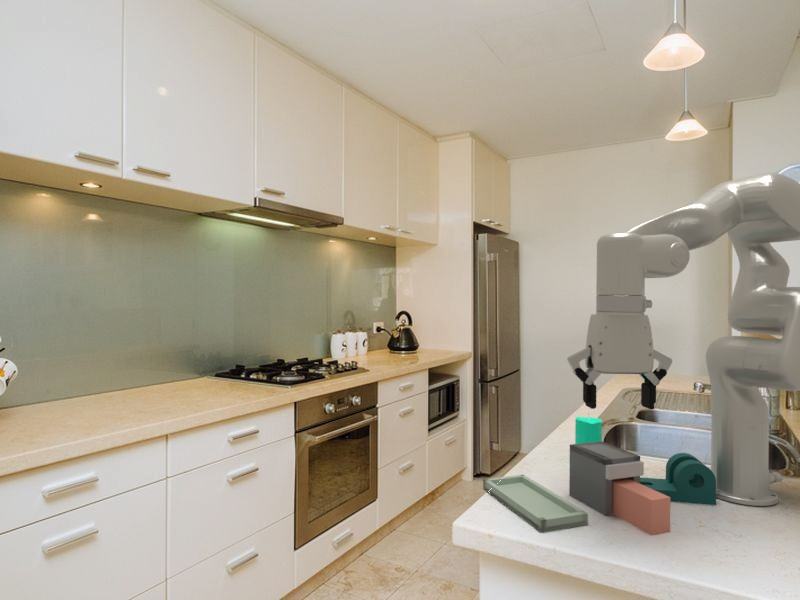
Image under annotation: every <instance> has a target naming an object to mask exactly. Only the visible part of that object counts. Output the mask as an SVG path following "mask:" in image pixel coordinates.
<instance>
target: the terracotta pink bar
mask: <svg viewBox="0 0 800 600" xmlns="http://www.w3.org/2000/svg"><path fill="white" fill-rule="evenodd" d="M612 515H614V516H615V517H617V518H619V519H621V520H623V521H625V522H626V523H628V524H630V525H632V526H634V527H636V528H637V529H639V530H640V531H643V533H646V534H648V535H649V536H657V535H658V536H659V535H663V534H667V533H671V502H670V497H669V496H666V495H664V494H662V493H660V492H657V491H655V490H653V489H651V488H648V487H646V486H644V485H642V484H639V483H637V482H635V481H633V480H630V479H629V478H620V479H612Z"/></svg>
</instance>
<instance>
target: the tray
mask: <svg viewBox="0 0 800 600" xmlns="http://www.w3.org/2000/svg"><path fill="white" fill-rule="evenodd" d="M502 478H503V479H502ZM482 480H483V481H482V484H483V485H482V489H483V490H484V491H485V492H486V493H487V494H489V495H491V496H492V497H493V498H494V499H496V500H497V501H499V502H500V503H501V504H502V505H504V506H505V507H506V508H508V509H509V510H510V511H512V512H513V513H514V514H516V515H518V517H520V518H521V519H523V520H524V521H525V522H526V523H528V524H529V525H530V526H532V527H533V528H534V529H536V530H537V531H538V532H539V533H542V534H543V533H547V532H552V531H558V530H565V529H570V528H577V527H582V526H588V525H589V512H588V511H585V510H584V509H582V508H580V507H578V506H577V505H575V504H574V503H572V502H570V501H569V500H567V499H565V498H564V497H562V496H560V495H558V494H557V493H556V492H554V491H552V490H550V489H549V488H546V487H545V486H543V485H542V484H540V483H539V482H536V481H535V480H534V479H531V478H530V477H529V476H527V475H524V474H518V475H517V474H516V475H508V476H500V477H493V478H483V479H482ZM500 480H501V481H500ZM499 481H500V482H499ZM497 483H498V484H497ZM491 488H492V489H491ZM490 489H491V490H490ZM489 490H490V491H489ZM488 491H489V492H490V493H489V492H488Z"/></svg>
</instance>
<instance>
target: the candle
mask: <svg viewBox="0 0 800 600" xmlns="http://www.w3.org/2000/svg"><path fill="white" fill-rule="evenodd" d="M587 414H588V415H587V417H583V416H582V417H581V416H575V428H574V429H575V433H574V434H575V437H574V438H575V441H574V442H575V443H574V444H581V443H591V442H601V441H602V442H603V440H602V438H603V437H602V436H603V435H602V434H603V431H602V429H603V428H602V427H603V423H602V422H603V421H602V419H601V418H598V417H597V418H596V417H590V412H588V413H587Z"/></svg>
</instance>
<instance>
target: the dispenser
mask: <svg viewBox="0 0 800 600" xmlns="http://www.w3.org/2000/svg"><path fill="white" fill-rule="evenodd" d="M642 476H644V461H641V455H639V454H636V453H634V452H632V451H631V452H630V451H628V450H625V449H623V448H621V447H617V446H614V445H612V444H610V443H607V442H604V441H603V440H602V441H601V442H591V443H581V444H575V443H574V444H573V443H572V444H569V481H568V482H569V491H568V492H569V496H571V497H572V498H573V499H576V500H577V501H579V502H581V503H582V504H584V505H586V506H587V507H589V508H591V509H592V510H594V511H596V512H598V513H600V514H601V515H603V516H605V517H607V516H612V515H613V514H612V479H620V478H629V479H630V480H633V481H635V482H637V483H639V484H640V478H641V477H642Z"/></svg>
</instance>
